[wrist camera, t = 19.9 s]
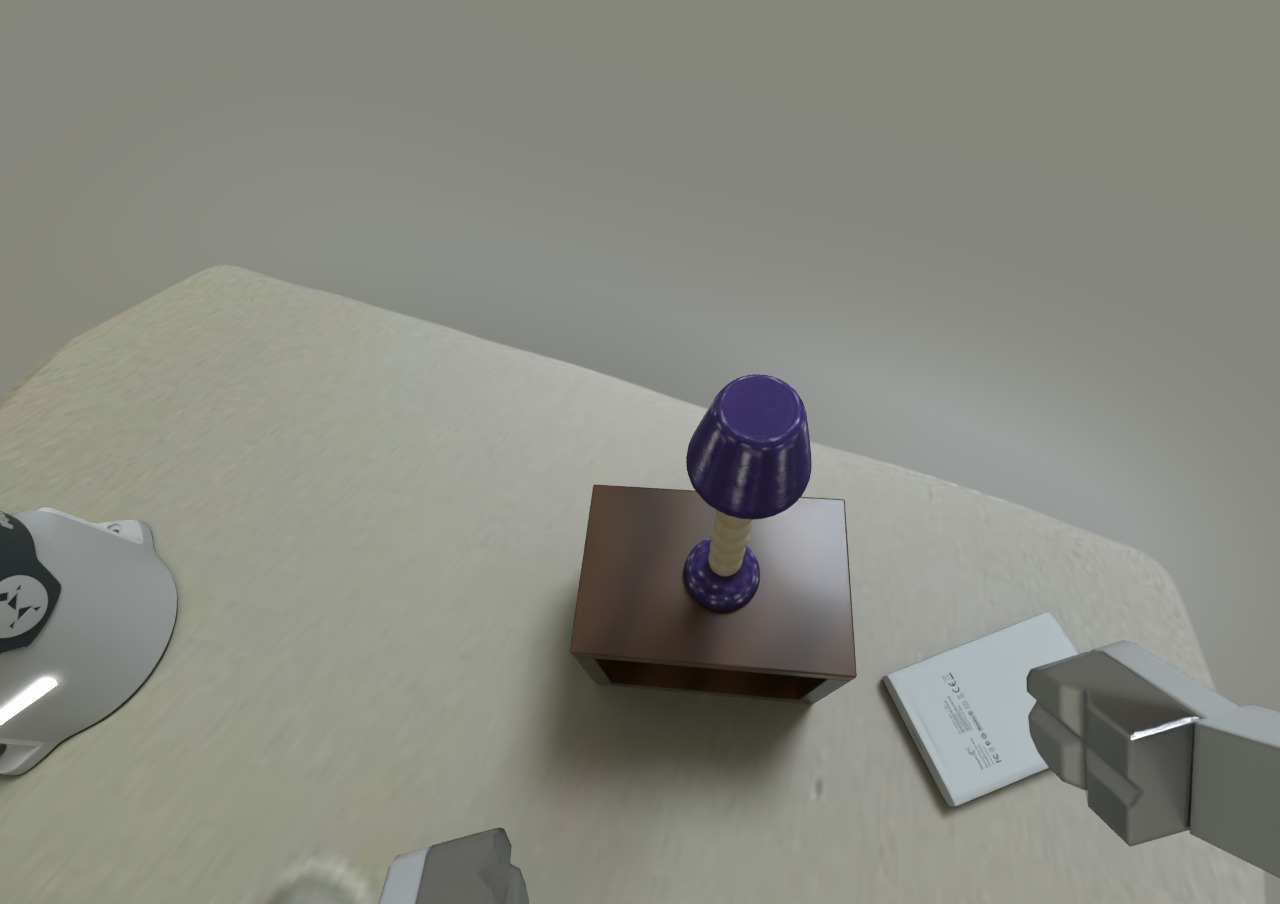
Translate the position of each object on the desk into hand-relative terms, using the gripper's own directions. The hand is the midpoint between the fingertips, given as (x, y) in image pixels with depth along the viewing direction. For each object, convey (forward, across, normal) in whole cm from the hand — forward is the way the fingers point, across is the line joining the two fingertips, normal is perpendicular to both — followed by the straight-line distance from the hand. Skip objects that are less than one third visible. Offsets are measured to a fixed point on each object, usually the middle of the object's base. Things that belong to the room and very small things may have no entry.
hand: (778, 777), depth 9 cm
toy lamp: (+24, -4, +10) cm, 26 cm away
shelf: (+32, -3, +18) cm, 37 cm away
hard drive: (+25, -20, +26) cm, 41 cm away
